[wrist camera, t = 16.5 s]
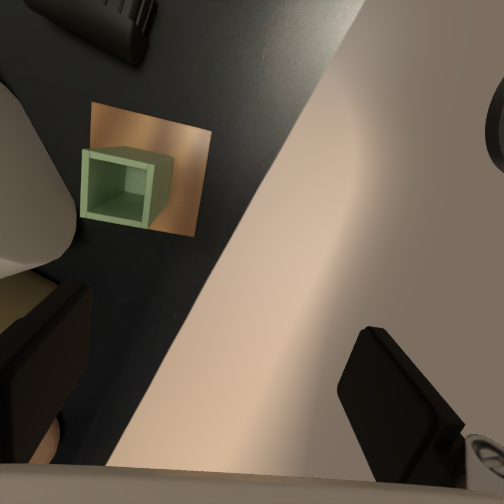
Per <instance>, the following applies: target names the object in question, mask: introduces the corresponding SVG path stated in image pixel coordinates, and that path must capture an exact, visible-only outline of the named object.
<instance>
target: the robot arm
mask: <svg viewBox="0 0 504 504" xmlns="http://www.w3.org/2000/svg"><path fill="white" fill-rule="evenodd" d="M92 298H93V290H92V288H88V287H87V283H86V282H79V281H73V280H65V281H63V282H62V283H61V284H60V285H59V286H58V287H56V288H55V289H54V290H53V291H52V292H51V293H50V294H49V295H48V296H46V297H45V298H44V299H43V300H42V301H41V302H40V303H39V304H37V305H36V306H35V307H34V308H33V309H32V310H31V311H30V312H29V313H27V314H26V315H25V316H24V317H22V318H19V319H17V320H16V321H15V322H13V323H12V324H11V325H10V326H9V327H8V328H7V329H5V330H4V331H3V332H2V333H1V334H0V504H504V447H503V446H501V445H499V444H498V443H496V442H495V441H493V440H491V439H489V438H487V437H485V436H481V435H478V434H470V435H468V436H467V437H466V438H464V437H463V436H462V435H461V434H460V432H461V431H462V429H463V428H464V426H465V424H464V422H463V421H462V420H461V419H460V418H459V416H458V415H457V414H456V413H455V412H454V411H453V409H452V408H451V407H450V406H449V405H448V403H447V402H446V401H445V400H444V399H443V398H442V397H441V395H440V394H439V393H438V392H437V390H436V389H435V388H434V387H433V386H432V385H431V383H430V382H429V381H428V380H427V379H426V377H425V376H424V375H423V374H422V373H421V372H420V371H419V369H418V368H417V367H416V366H415V364H414V363H413V362H412V361H411V360H410V358H409V357H408V356H407V355H406V354H405V352H404V351H403V350H402V349H401V348H400V347H399V345H397V343H396V342H395V341H394V339H393V338H392V337H391V336H390V335H389V334H388V333H387V331H386V330H385V329H383V328H377V327H370V326H368V327H366V328H365V329H363V330H361V331H360V333H359V335H358V338H357V340H356V343H355V345H354V347H353V350H352V352H351V354H350V357H349V359H348V362H347V364H346V366H345V369H344V371H343V374H342V376H341V378H340V381H339V383H338V386H337V393H338V397H339V399H340V401H341V403H342V406H343V408H344V410H345V413H346V415H347V417H348V419H349V422H350V424H351V426H352V428H353V431H354V433H355V435H356V437H357V440H358V442H359V444H360V446H361V449H362V451H363V453H364V455H365V457H366V460H367V462H368V464H369V467H370V469H371V471H372V473H373V476H374V478H375V480H376V482H368V481H353V480H351V481H350V480H337V479H321V478H306V477H305V478H304V477H288V476H272V475H255V474H239V473H222V472H204V471H186V470H167V469H149V468H130V467H112V466H87V465H59V464H31V463H29V461H30V460H31V458H32V456H33V455H34V453H35V451H36V450H37V448H38V446H39V445H40V443H41V441H42V440H43V438H44V436H45V435H46V433H47V431H48V430H49V428H50V426H51V425H52V423H53V421H54V420H55V418H56V416H57V415H58V413H59V411H60V410H61V408H62V406H63V405H64V403H65V401H66V400H67V398H68V396H69V395H70V393H71V391H72V390H73V388H74V386H75V385H76V383H77V381H78V380H79V378H80V376H81V375H82V373H83V371H84V370H85V368H86V366H87V363H88V360H89V352H90V334H91V316H92Z"/></svg>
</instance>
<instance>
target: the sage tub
mask: <svg viewBox="0 0 504 504" xmlns="http://www.w3.org/2000/svg"><path fill="white" fill-rule="evenodd" d="M173 164H174V157H172V156H168V155H163V154H159V153H154V152H150V151H146V150H141V149H137V148H132V147H128V146H117V147H104V148H91V149H82V171H81V200H80V217H84V218H89V219H95V220H100V221H106V222H111V223H117V224H122V225H128V226H133V227H139V228H144V229H148V228H149V226H150V225H151V224H152V223H153V221H154V220H155V219H156V218H157V216H158V215H159V214H160V213H161V211H162V210H163V209H164V208H165V207H166V205H167V204H168V201H169V194H170V186H171V179H172V171H173Z"/></svg>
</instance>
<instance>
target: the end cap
mask: <svg viewBox="0 0 504 504" xmlns="http://www.w3.org/2000/svg"><path fill="white" fill-rule="evenodd" d="M23 1H24V2H25V4H26V5H27V6H28V7H29V8H30V9H31V10H32V11H34V12H36V13H38V14H40V15H42V16H43V17H45V18H47V19H49V20H51V21H53V22H55V23H56V24H58V25H60V26H62V27H64V28H66V29H68V30H69V31H71V32H73V33H75V34H77V35H79V36H81V37H82V38H84V39H86V40H88V41H90V42H92V43H93V44H95V45H97V46H99V47H101V48H103V49H105V50H106V51H108V52H110V53H112V54H114V55H116V56H118V57H119V58H121V59H123V60H125V61H127V62H129V63H131V64H136V63H138V62H139V61H140V59H141V58H142V57H143V55H144V53H145V51H146V49H147V46H148V43H149V41H148V40H147V38H148V35H149V32H150V29H151V26H152V23H153V20H154V17H155V13H156V10H157V5H158V4H157V1H156V0H23Z"/></svg>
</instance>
